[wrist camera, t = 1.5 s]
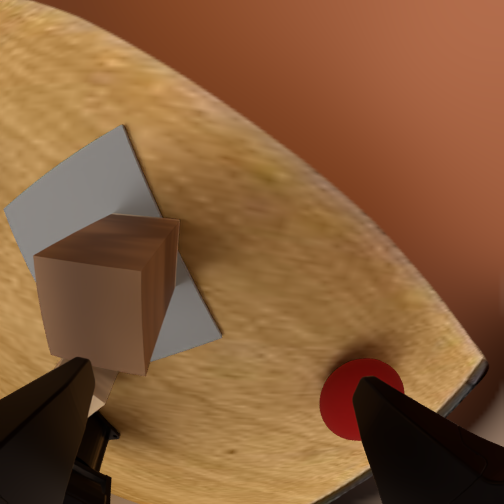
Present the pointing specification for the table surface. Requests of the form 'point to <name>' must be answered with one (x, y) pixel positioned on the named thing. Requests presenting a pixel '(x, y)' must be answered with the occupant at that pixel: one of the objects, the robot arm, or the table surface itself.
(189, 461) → the table surface
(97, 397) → the maple block
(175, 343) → the mat
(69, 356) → the walnut block
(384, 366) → the christmas ornament
